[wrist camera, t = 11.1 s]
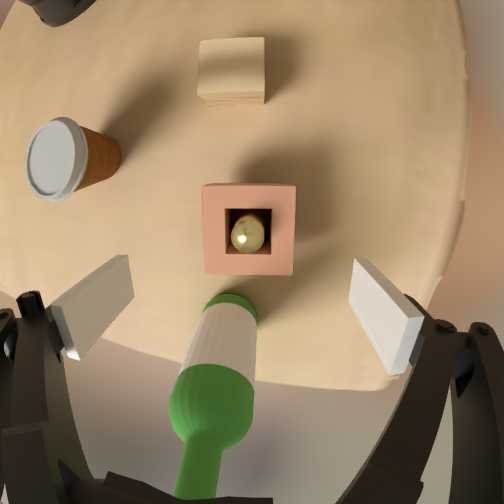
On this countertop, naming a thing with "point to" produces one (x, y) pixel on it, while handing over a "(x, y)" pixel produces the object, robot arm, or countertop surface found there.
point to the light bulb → (250, 228)
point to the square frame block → (219, 228)
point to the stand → (231, 71)
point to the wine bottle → (214, 392)
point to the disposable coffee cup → (68, 159)
